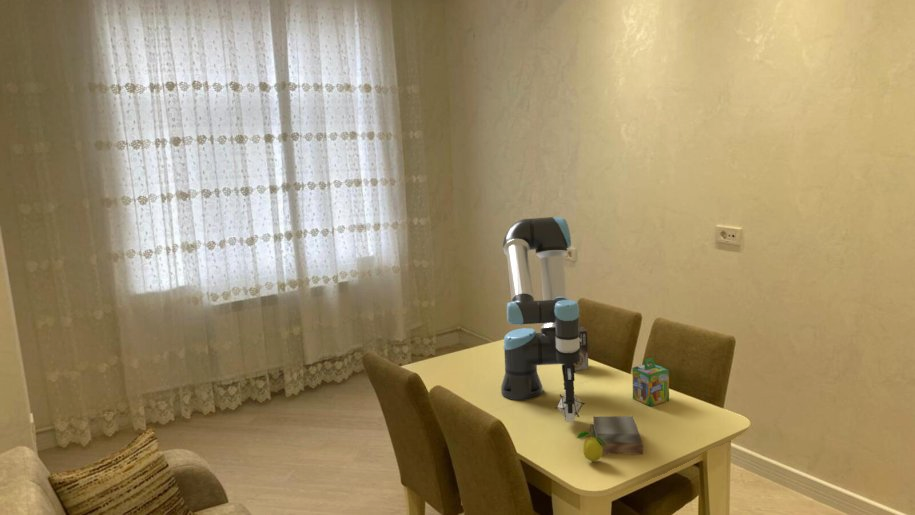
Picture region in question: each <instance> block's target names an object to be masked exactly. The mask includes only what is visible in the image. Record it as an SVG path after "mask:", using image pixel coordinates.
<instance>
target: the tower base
mask: <svg viewBox="0 0 915 515" xmlns="http://www.w3.org/2000/svg"><path fill="white" fill-rule="evenodd" d="M589 428H590V432H589V433H590V434H589V435H590V437H592V433H591V432H592V429H593V435H594V436H596V437H599V438H601V439H602V440H603V441H604V443H605V445H606V447H607V448H606V447H605V445H604V444H603V443H602V442H601V441H600V443H601V445H602V449H603V453H602V455H644V443H643V440H642V438H641V435H640V432H639V430H638V426H637V424H636V422H635V418H634V416H633V415H632V416H631V415H627V416H626V415H625V416H623V415H622V416H621V415H620V416H614V415H611V416H610V415H609V416H605V415H604V416H593V423H590V424H589ZM594 436H593V437H594ZM596 437H594V438H596Z"/></svg>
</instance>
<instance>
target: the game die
mask: <svg viewBox="0 0 915 515" xmlns="http://www.w3.org/2000/svg"><path fill="white" fill-rule="evenodd" d="M559 396H560V399H559V402H558V403H557V406H555V407H554V409H557V410H559V412H560V413H561V414H562V415H563V417H564V421H565V422H566V405H565V404H564V402H566V395H564V394H559ZM574 401H575V403H574V417H576V416H577V417H578V418H580V415H579V413H580V411H581V408H582V406H583V405H585V404H586V403H585V402H582V401H581V400H580V399H579V397H577V396H576V395H575V394H574Z"/></svg>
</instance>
